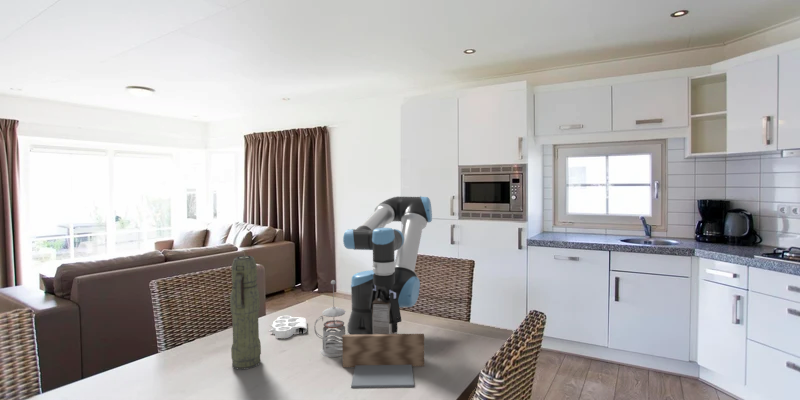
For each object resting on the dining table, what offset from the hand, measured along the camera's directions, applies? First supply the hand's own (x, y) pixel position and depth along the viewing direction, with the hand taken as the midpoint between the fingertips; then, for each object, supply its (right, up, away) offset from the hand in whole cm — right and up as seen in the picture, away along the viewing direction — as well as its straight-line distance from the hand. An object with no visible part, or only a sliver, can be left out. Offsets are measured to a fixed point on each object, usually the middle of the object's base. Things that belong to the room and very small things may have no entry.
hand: (384, 335), depth 140 cm
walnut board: (0, -6, -11) cm, 13 cm away
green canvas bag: (-45, -6, -9) cm, 46 cm away
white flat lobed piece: (-40, -5, +21) cm, 45 cm away
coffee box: (0, -3, 0) cm, 3 cm away
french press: (-19, -6, 0) cm, 19 cm away
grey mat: (0, -6, -18) cm, 19 cm away
